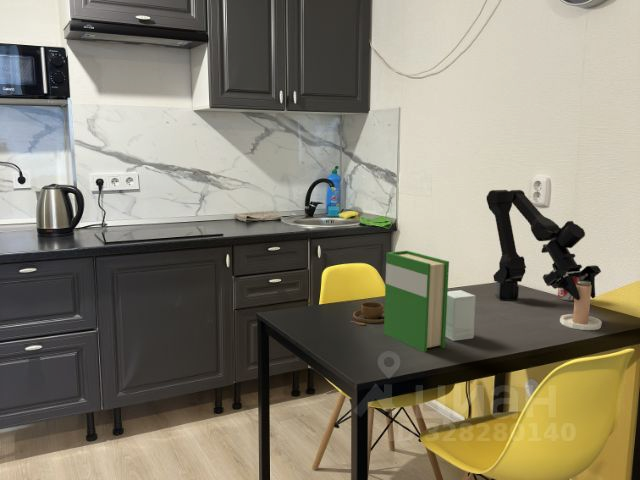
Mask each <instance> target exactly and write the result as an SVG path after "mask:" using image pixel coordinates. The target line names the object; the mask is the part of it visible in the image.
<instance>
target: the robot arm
mask: <svg viewBox="0 0 640 480" xmlns="http://www.w3.org/2000/svg"><path fill="white" fill-rule="evenodd" d="M486 203H487V206H488V209H489V210H490V211H491V213H492V214H493V216H494V217H495V223H496V229H497V234H498V241H499V245H500V251H501V257H500V261H499V263H498V265H499V266H498V270H497V271H496V272H495V273H494V274H493V275H492V276H493V282H496V283H497V286H496V287H497V288H496V294H495V297H496V298H497V299H498V300H500V301H519V290H520V287H519V285H518V283H519V282H520V283H521V282H522V280H523V277H524V276H525V274H526V268H527V266H526V263H525V257H524V256H520V255H519V254H518V253H517V248H516V243H515V236H514V232H513V225H512V220H511V216H510V215H511V214H510V212H511V210H512V208H513V206H514V207H515V208H516V209H517V210H518V212H519V213H520V214H521V215H522V216H523V218H524V219H525V220H526V221H527V222H528V224H529V225H530V231H531V234H532V235H533V236H534V238H535V239H536V240H537V241H538V242H548V243H546V244H544V243H543V244H542V248H541V253H542V254H545V253H548V255H549V256H550V257H551V259H552V262H553V263H552V267H551V268H552V270H551V271H550V272H548V273H545V274H543V276H542V279H543V281H544V283H545V284H546V286H547V287H552V288H553V289H554V290H555V289H558V288H563V289H564V290H566V291H567V292H568V293H569V294H570V295H572V296H573V297H574V298H575V299H576V300H579V299H580V296H579V293H578V290H577V287H576V284H575V282H574V279H573V278H577V277H578V278H579V280H586V281H590V282H591V285H592V287H591V297H590V298H591V299H595V298H596V286H595V285H596V284H595V283H596V282H595V280H596V279H595V278H596V276H598V275H599V274H600V273H601V272H602V270H601V269H600V267H599V266H598V265H596V264H594V265H586V266H585V267H584V268H583V266H582V264H580V263H579V264H577V262H576V260H575V257H576V254H575V253H571V251H570V250H569V249H572V248H573V247H575V246H576V245H577V244H578V243H579V242H580V241H581V240H582V239H584V237H585V236H586V232H585V230H584V228H582V227H581V226H580V225H578V224H576V223H574V221H573V220H567V221H566V222H565V223H564V224H563V226H562V227H560V226H559V225H558V224H557V223H556V222H555V221H553V219H550V218H549V217H546V216H545V215H543V214H542V213H541V212H540V211H539V209H538V208H537V207H536V206H535V205H534V204H533V202H532V201H531V200H530V199H529V198H528V197H527V196H526V195H525V192H524V190H522V189H511V190H507V189H494V190H493V189H491V190H490V191H488V194H487V195H486ZM582 268H583V269H582ZM581 269H582V270H581Z"/></svg>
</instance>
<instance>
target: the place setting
mask: <svg viewBox="0 0 640 480" xmlns="http://www.w3.org/2000/svg"><path fill="white" fill-rule="evenodd" d="M360 307H361V308H360V309H359V310H356V311H354V312H353V313H352V315H353V318H354V319H355V321H354V320H350V321H349V322H351V323H355V324H356V325H359V326H366V324H382V323H383V324H384V318H381V319H379V318H380V317H382V316H384V315H385V310H384V304H382V303H380V302H375V301H367V302H363V303H361V305H360ZM359 315H362V316H364V317H365V318H361V317H359Z"/></svg>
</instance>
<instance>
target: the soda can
mask: <svg viewBox="0 0 640 480" xmlns="http://www.w3.org/2000/svg"><path fill="white" fill-rule="evenodd" d="M573 279H574V282H575V284H577V281H578V280H579V278H578V277H577V278H573ZM557 297H558V298H560V300H563V301H568V302H572V301H573V302H574V301H575V298H574V297H573V296H572V295H570V294H569V293H568V292H567V291H566V290H564V289H563V288H557Z"/></svg>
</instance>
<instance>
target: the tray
mask: <svg viewBox="0 0 640 480" xmlns="http://www.w3.org/2000/svg"><path fill="white" fill-rule="evenodd" d="M559 323H560V324H561V325H563V326H564V327H566V328H569V329H573V330H581V331H598V330H600V329H601V328H602V323H603V322H602V320H601V319H599V318H596V317H593V316H590V315H589V319H588V324H586V325H583V324H576V323H574V322H573V313H567V314H563V315H561V316H560V318H559Z"/></svg>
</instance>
